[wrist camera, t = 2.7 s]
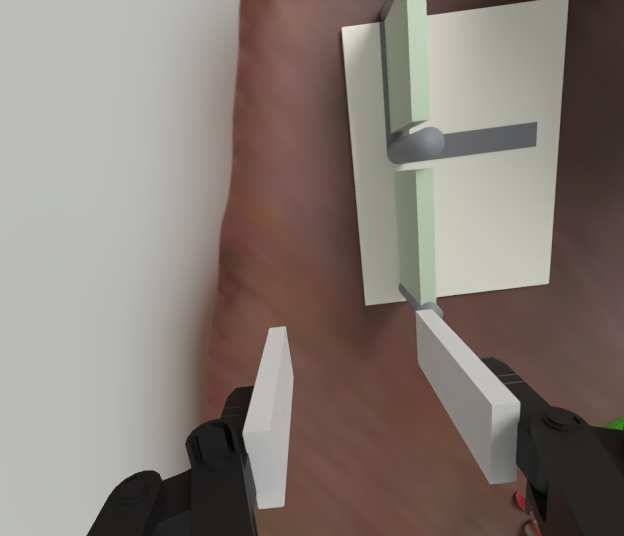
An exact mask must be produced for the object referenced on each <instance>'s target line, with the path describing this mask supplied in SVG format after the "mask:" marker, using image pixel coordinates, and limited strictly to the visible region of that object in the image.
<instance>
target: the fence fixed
mask: <svg viewBox="0 0 624 536" xmlns="http://www.w3.org/2000/svg"><path fill="white" fill-rule="evenodd" d="M380 18H381V21H385V39H386V57H387V75H388V92H389V110H390V128H391V133H398V132H405V131H407V130H409V129H411V128H413V127H415V126H417V125H419V124H421V123H424V122H426V121H428V120H429V83H428V46H427V10H426V0H385V2H384V4H383V6H382V9H381V12H380ZM443 147H444V136H443V134H442V132H441V131H440V130H439V129H437V128H435V127H426V128H423V129H421V130H419V131H416V132H414V133H412V134H410V135H407V136H405V137H403V138H400V139H398V140H396V141H394V142H392V143H391V144H390V145H389V147H388V150H387V156H388V159H389V160H390V161H391V162H392V163H394V164H402V163H408V162H415V161H421V160H427V159H432V158H435V157H436V156H438V155H439V154H440V153H441V151H442V150H443Z"/></svg>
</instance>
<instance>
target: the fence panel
mask: <svg viewBox="0 0 624 536" xmlns="http://www.w3.org/2000/svg"><path fill="white" fill-rule="evenodd" d="M394 179H395V197H396V215H397V233H398V251H399V269H400V284H399V287H398V288H399V291H400V293H401V294H402V295H403V296H404V298H405V299H406V300H407V301H408V303H409V304H410V305H411V306H412V308H413V309H414V310H415V311H419V310H428V309H433V311H434V312H435V313H436V314H437V315H438V316H439V317H440V318H441V319H442V318H443V311H442V310H441V308H440V307H439V306H438V305H437V304H436V271H435V232H434V193H433V168H425V169H414V170H404V171H396V172H394Z"/></svg>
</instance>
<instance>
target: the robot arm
mask: <svg viewBox="0 0 624 536" xmlns="http://www.w3.org/2000/svg"><path fill="white" fill-rule="evenodd" d="M416 330H417V353H418V364H419V366H420V367H421V369H422V371H423V372H424V374H425V376H426V377H427V379H428V381H429V382H430V384H431V386H432V387H433V389H434V391H435V392H436V394H437V396H438V397H439V399H440V401H441V402H442V404H443V406H444V408H445V409H446V411H447V413H448V414H449V416H450V418H451V419H452V421H453V423H454V424H455V426H456V428H457V429H458V431H459V433H460V434H461V436H462V438H463V439H464V441H465V443H466V445H467V446H468V448H469V450H470V451H471V453H472V455H473V456H474V458H475V460H476V461H477V463H478V465H479V466H480V468H481V470H482V471H483V473H484V475H485V476H486V478H487V480H488V481H489V483H490V484H499V483H509V482H516V479H517V466H518V467H519V468H520V470H521V471H522V472H523V474H524V475H525V477H526V478H527V485H526V502H525V511H526V514H528V515H530V512H531V507H532V510H533V513H534V516H535V519H536V522H537V524H538V527H539V530H540V533H541V536H624V425H623V430H619V429H610V428H602V427H594V426H589V425H588V424H587V422H586V421H585V420H584V419H583V418H581V417H580V416H578V415H576V414H575V413H573V412H571V411H568V410H565V409H563V408H558V407H553V406H550V405H549V404H548V403H547V402H546V401H545V400H544V399H543V398H542V397H540V396H539V395H538V394H537V393H536V392H535V391H534V390H533V389H532V388H531V387H530V386H529V385H528V384H527V383H526V382H523V380H522V379H521V378H520V377H519V376H518V375H516V374H515V372H514V371H513V370H512V369H511V368H510V367H508V366H507V365H506V364H505V363H503V362H501V361H499V360H497V359H495V358H493V357H492V358H483V359H479V358H478V357H477V356H476V355H475V354H474V353H473V352H472V351H471V349H470V348H469V347H468V346H467V345H466V344H465V343H464V342H463V341H462V340H461V339H460V338H459V337H458V336H457V335H456V334H455V333H454V332H453V331H452V329H451V328H450V327H449V326H448V325H447V324H446V323H445V322H444V321H443V320H442V319H441V318H440V317H439V316H438V315H437V314H436V313H435V312H434V311H433V309H428V310H419V311H416ZM293 378H294V377H293V370H292V364H291V358H290V351H289V345H288V339H287V332H286V326H284V327H276V328H269V332H268V336H267V340H266V344H265V348H264V351H263V355H262V359H261V363H260V367H259V371H258V375H257V379H256V382H255V386H248V387H240V388H236V389H235V390H234V391H233V392H232V393H231V394H230V395H229V396H228V398H227V401H226V403H225V406H224V409H223V412H222V414H221V418H220V419H216V420H210V421H208V422H206V423H203V424H201V425H200V426H199V427H197V428H196V429H194V430H193V431H192V432H191V434H190V435H189V436H188V438H187V441H186V444H185V445H186V449H187V453H188V456H189V460H190V463H191V467H192V468H191V469H189V470H188V471H186V472H183V473H181V474H179V475H176V476H173V477H171V478H168V479H166V480H163V481H162V479H161V477H160V474H159V473H157V472H155V471H142V472H139V473H135V474H134V475H132V476H130V477H128V478H126V479H125V480H123V481H122V482H121V483H120V484H119V485H118V486H116V487H115V489H114V490H113V491H112V493H111V494H110V495H109V497H108V499H107V501H106V502H105V504H104V506H103V507H102V509H101V511H100V513H99V515H98V516H97V518H96V520H95V522H94V524H93V525H92V527H91V529H90V531H89V533H88V534H87V536H258V532H257V526H256V521H255V516H254V512H253V511H254V505H255V499H257V503H258V508H259V509H265V508H275V507H284V501H285V487H286V474H287V460H288V446H289V433H290V419H291V406H292V392H293Z"/></svg>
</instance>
